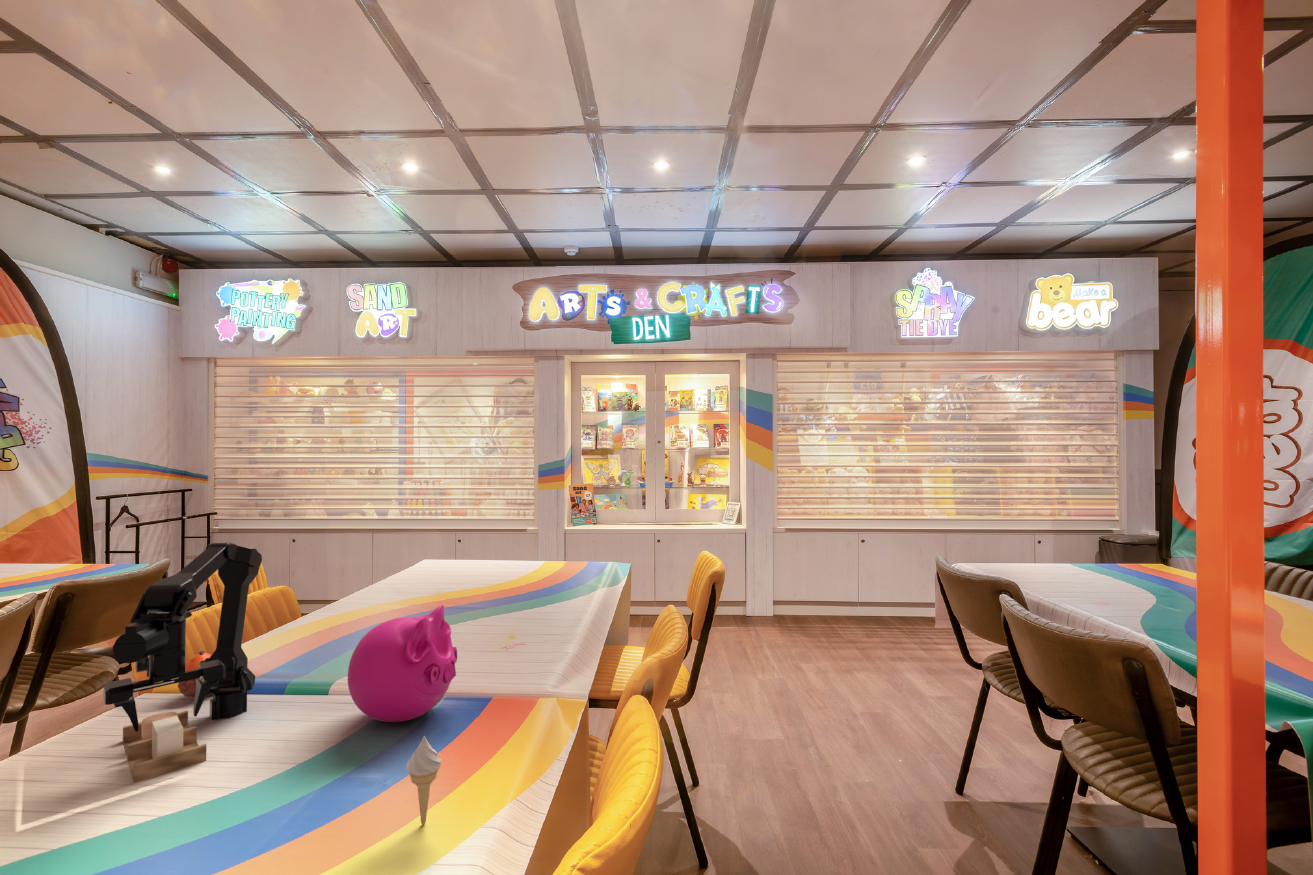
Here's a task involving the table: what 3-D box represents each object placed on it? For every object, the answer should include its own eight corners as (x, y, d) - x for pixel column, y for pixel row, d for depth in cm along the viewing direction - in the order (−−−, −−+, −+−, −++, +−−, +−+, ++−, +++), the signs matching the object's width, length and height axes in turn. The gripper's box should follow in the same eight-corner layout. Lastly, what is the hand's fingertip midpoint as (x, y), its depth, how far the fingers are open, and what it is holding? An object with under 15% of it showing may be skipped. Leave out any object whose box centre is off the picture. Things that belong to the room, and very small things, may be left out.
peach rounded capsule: (175, 731, 132) (175, 709, 133) (179, 741, 128) (179, 717, 128) (139, 741, 128) (139, 717, 128) (142, 751, 124) (143, 727, 124)
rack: (187, 727, 136) (187, 710, 136) (206, 764, 120) (206, 745, 120) (122, 744, 128) (122, 726, 128) (134, 786, 112) (134, 766, 112)
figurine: (436, 740, 130) (436, 625, 130) (326, 740, 130) (327, 625, 131) (471, 696, 153) (471, 598, 153) (378, 695, 154) (379, 598, 154)
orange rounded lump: (190, 689, 158) (191, 646, 158) (236, 684, 161) (237, 642, 161) (168, 708, 146) (169, 661, 146) (219, 702, 149) (219, 657, 150)
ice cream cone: (412, 815, 103) (412, 728, 104) (445, 813, 104) (445, 726, 104) (401, 836, 98) (401, 744, 98) (436, 834, 98) (436, 742, 99)
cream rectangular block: (176, 749, 125) (177, 715, 125) (183, 763, 119) (183, 727, 119) (151, 756, 122) (152, 721, 122) (157, 770, 116) (157, 734, 116)
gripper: (216, 627, 133) (215, 697, 133) (102, 647, 120) (100, 725, 119) (226, 638, 125) (225, 713, 125) (106, 661, 112) (104, 745, 112)
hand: (166, 723), depth 120 cm, fingers open, 9 cm apart
